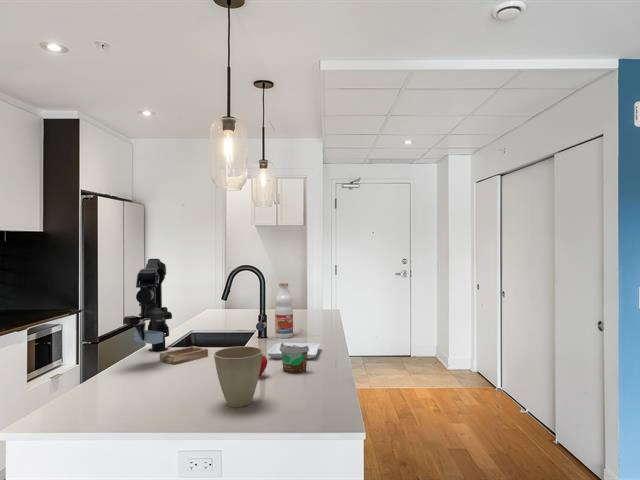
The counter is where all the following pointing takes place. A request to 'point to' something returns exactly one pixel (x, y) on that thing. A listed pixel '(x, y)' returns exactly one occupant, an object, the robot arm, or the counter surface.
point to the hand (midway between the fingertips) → (148, 339)
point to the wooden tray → (183, 355)
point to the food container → (294, 358)
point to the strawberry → (263, 364)
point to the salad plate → (277, 353)
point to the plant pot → (238, 373)
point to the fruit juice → (283, 313)
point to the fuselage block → (149, 337)
